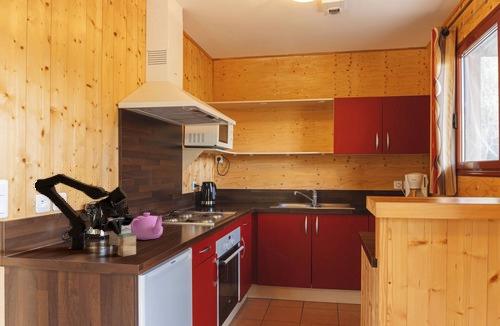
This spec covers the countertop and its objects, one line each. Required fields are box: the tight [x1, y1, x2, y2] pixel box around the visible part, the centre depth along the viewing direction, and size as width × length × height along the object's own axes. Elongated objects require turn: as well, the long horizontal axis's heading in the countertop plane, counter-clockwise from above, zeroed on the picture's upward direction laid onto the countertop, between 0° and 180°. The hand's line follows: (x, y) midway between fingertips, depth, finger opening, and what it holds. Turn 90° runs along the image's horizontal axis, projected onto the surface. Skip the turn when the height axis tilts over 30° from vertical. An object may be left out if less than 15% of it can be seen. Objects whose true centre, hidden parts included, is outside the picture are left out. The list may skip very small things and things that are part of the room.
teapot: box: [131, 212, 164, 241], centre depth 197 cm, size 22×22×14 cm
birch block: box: [117, 232, 137, 257], centre depth 159 cm, size 4×6×9 cm
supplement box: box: [108, 224, 131, 247], centre depth 181 cm, size 7×7×13 cm
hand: (120, 236), depth 164 cm, fingers closed
